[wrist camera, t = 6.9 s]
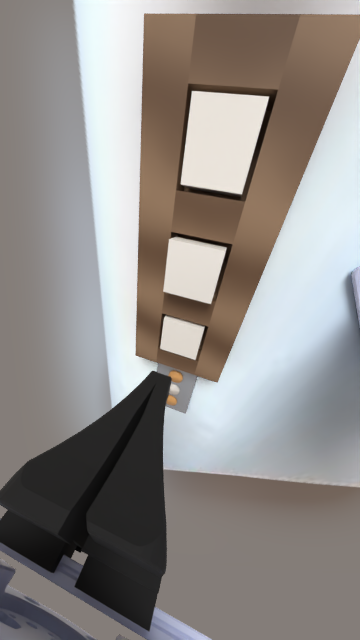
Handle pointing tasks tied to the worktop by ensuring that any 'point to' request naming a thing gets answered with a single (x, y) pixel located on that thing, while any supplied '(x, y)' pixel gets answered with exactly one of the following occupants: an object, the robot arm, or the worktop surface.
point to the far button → (181, 336)
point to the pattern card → (178, 387)
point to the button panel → (266, 166)
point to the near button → (221, 141)
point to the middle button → (193, 268)
